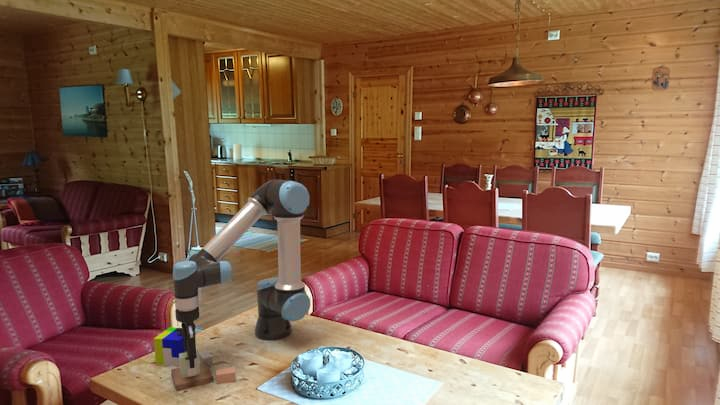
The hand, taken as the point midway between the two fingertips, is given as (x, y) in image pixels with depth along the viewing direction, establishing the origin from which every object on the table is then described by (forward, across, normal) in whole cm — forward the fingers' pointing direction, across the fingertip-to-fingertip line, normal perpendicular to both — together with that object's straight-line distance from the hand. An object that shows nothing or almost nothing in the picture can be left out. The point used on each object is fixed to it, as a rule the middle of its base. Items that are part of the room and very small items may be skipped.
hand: (191, 372), depth 165 cm
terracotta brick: (+2, +7, +10) cm, 13 cm away
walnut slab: (+2, 0, 0) cm, 2 cm away
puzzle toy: (+3, -18, -3) cm, 18 cm away
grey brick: (+2, -9, +6) cm, 12 cm away
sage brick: (0, 0, 0) cm, 0 cm away
